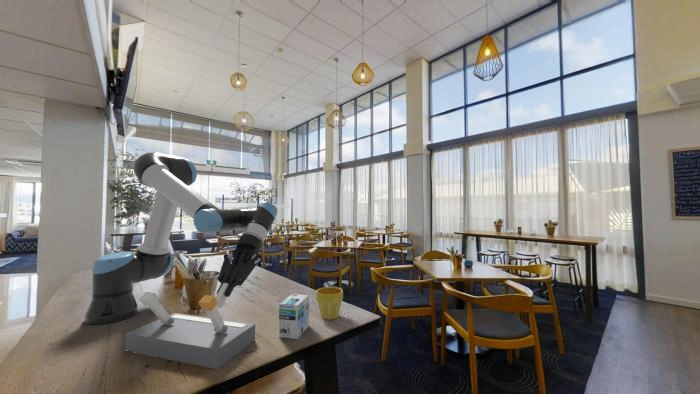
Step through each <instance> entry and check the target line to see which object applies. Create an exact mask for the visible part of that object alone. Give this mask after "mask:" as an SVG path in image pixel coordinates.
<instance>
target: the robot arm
mask: <svg viewBox="0 0 700 394" xmlns="http://www.w3.org/2000/svg"><path fill="white" fill-rule="evenodd" d="M133 173H134V176H135V177H136V178H137V179H138V180H139V182H141V183H142V184H143V185H145V186H146V187H149V188H153V189H154V190H156V193H155V198H154V201H153V205H152V208H151V212H150V216H149V218H148V219H149V220H148V225H147V227H146V231H145V233H144V234H145V235H144V239H143V242H142V243H141V244H140V245H138V246H137V248H136V251H135V253H134V252H133V251H120V252H114V253H113V252H112V253H108V254H104V255H101V256H99V257H98V258H96V259H95V260H94V262H93V267H92V271H91V273H92V295H91V301H90V304H89V306H88V307H87V311H86V313H85V315H84V323H85V322H86V323H85V324H86V325H87V324H88V325H105V324H111V323H116V322H119V321H123V320H126V319H129V318H131V317H133V316H135V315H136V314H138V311H139V310H138V309H139V307H138V303H137V300H136V298H135V295H134V293H133V292H134V291H133V289H134V284H137V283H141V282H145V281H149V280H155V279H158V278H160V277H163V276H165V275H167V274H168V273H169V272H170V271H171V269H172V268H173V266H174V258H173V257H174V256H173V254H172V252H171V249H170V248H169V246H168V243H169V241H170V238H171V237H170V236H171V233H172V228H173V225H174V222H175V218H176V215H177V210H178V208H179V209H180V210H181V211H182V212H184V213H185V214H187V215H188V216H189V217H191V218H192V219H193V225H194V227H195V229H196V230H197V231H198V232H200V233H202V234H203V233H205V234H206V233H207V234H209V233H210V234H212V233H219V232H226V231H235V230H243V232H242V235H240V238H239V239H238V241H237V242H236V247H235V249H233V251H232V253H229V254H228V253H225V254H224V255H223V262H222V265H221V267H220V271H219V273H218V276H217V282H219V283H220V285H219V287H218V289H217V291H216V294H217V295H216V296H215V298H216V300H217V302H218V304H217V305H216V307H217V309H218V310H219V309H220V310H222V308H223V307H224V304H225V302H226V301H227V298H229V297H230V296H231V295H232V293H233V290H234V289H235V288H236V287H237V286H239V287H241V286H243V284H244V283H245V281H246V280H247V279H248V277H249V276H250V275H251V273H252V272H253V271H254V269H255V268H256V267H257V266H258V265H259V264H260V263H261V262H262V259H261V258H260V257H259V256H258V253H259V252H260V250H261V248H262V245H263V243H264V241H265V239H266V238H267V235H268V233H269V231H270V229H271V227H272V225H273V223H274V221H275V220H276V217H277V214H278V209H277V207H276V205H274V203H272V202H269V201H262V202H260V203H259V204H258V205H257V207H256V208H232V209H228V208H224V209H220V208H218V207H217V206H215V205H214V204H213V203H211V202H210V201H209V200H207V199H206V198H205V197H203V196H202V195H201V194H199V193H198V192H197V191H195V190H194V189H193V188H192V187H191V185H193V184H194V183H195V182H196V180H197V174H198V172H197V168H196V166H195V164H194V162H193V161H192V160H190V159H188V158H185V157H182V156H178V155H177V156H176V155H171V154H166V153H165V154H164V153H160V152H154V151H153V152H146V153H143V154H141V155H140V156H139V157H137V158H136V160H135V161H134V164H133Z"/></svg>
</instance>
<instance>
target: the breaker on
mask: <svg viewBox="0 0 700 394" xmlns="http://www.w3.org/2000/svg"><path fill="white" fill-rule="evenodd" d="M138 301H139V302H141V304H143V306H146V307H148V308H149V309H150V310H151V311H152V312H153V313H154V315H155V316H156V317H157V318H158V320H159V319H160V320H161V323H164V324H172V323H173V322H174V319H173V318H171V316H170V315H171V314H169V313H168V311H167V310H166V309H165V308H164V306H163V305H162V304H161V303H160V298H159V296H158V295H157V294H156V292H152V291H151V292H149V291H146V292H145V293H144V294H143V295H142V296H140V298H139V299H138Z"/></svg>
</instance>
